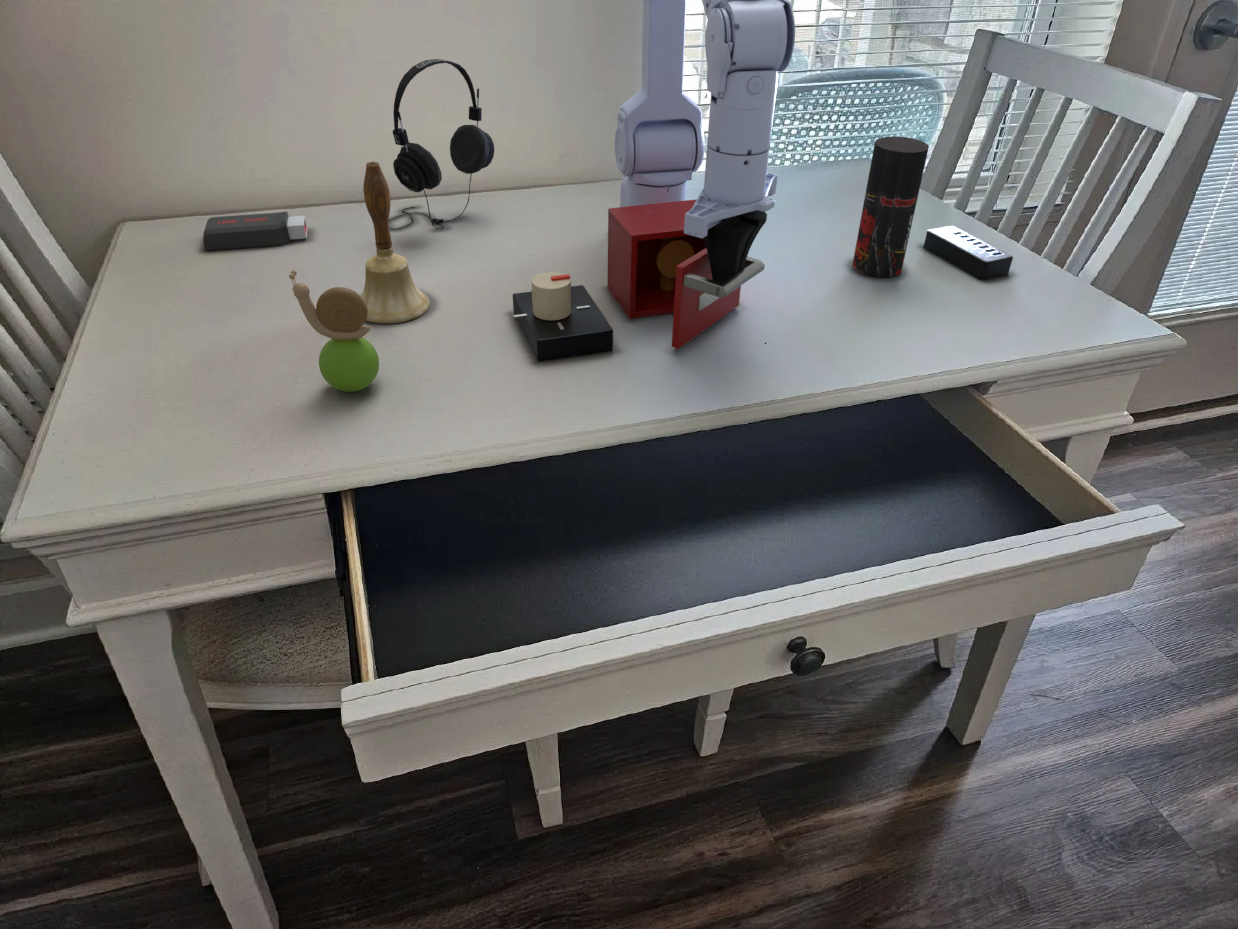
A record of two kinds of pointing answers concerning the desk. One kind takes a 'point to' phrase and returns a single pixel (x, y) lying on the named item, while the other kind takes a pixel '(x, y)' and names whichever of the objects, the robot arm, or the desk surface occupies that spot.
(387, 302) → the hand bell
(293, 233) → the usb drive
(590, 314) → the panel
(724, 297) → the red drawer
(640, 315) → the cabinet
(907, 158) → the deodorant
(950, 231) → the multiport hub
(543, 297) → the lock dial
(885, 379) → the desk surface
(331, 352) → the snail figurine
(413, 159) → the headphones
